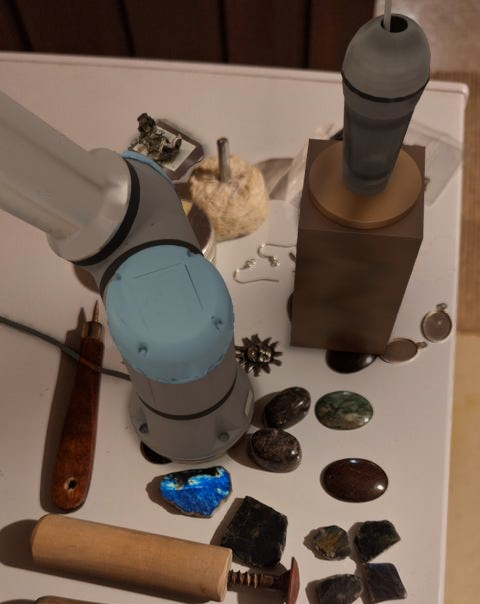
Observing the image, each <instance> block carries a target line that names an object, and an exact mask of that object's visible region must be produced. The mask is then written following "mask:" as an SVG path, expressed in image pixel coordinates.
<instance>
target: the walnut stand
mask: <svg viewBox="0 0 480 604" xmlns="http://www.w3.org/2000/svg"><path fill="white" fill-rule="evenodd" d="M341 141H342V140H338V139H337V140H336V139H335V140H334V139H321V138H308V142H307V143H308V144H307V150H306V151H307V152H306V159H305V165H304V166H305V167H304V175H303V182H302V183H303V184H302V191H301V196H302V199H301V207H300V215H299V214H298V222H297V223H298V225H297V237H296V247H295V248H296V250H295V252H296V253H295V264H294V265H295V266H294V278H293V291H292V307H291V322H290V323H291V324H290V336H289V337H290V338H289V347H292V348H293V347H294V348H296V347H297V348H304V349H315V350H326V351H336V352H344V353H345V352H347V353H356V354H366V355H377V356H385V354H386V350H387V346H388V344H389V341H390V340H391V339H390V338H391V335H392V332H393V330H394V326H395V324H396V321H397V318H398V314H399V312H400V309H401V307H402V303H403V299H404V297H405V294H406V292H407V288H408V285H409V282H410V279H411V275H412V273H413V271H414V268H415V265H416V261H417V260H418V259H417V258H418V255H419V252H420V250H421V247H422V244H423V241H424V231H425V230H424V229H425V227H424V225H425V186H426V185H425V184H426V182H425V181H426V179H425V178H426V146H425V145H411V144H402V146H401V149H402V150H403V151H405V152H406V153H407V154H408V155H409V156H410V157H411V158H412V159H413V160H414V161H415V163H416V165H417V166H418V169H419V171H420V175H421V183H422V184H421V190H420V193H419V197H418V200H417V202H416V204H415V206H414V207H413V209H412V210H411V211H410V212H409V213H408V214H407V215H406V216H405V217H404V218H402V219H401V220H399V221H397V222H396V223H393V224H391V225H388V226H385V227H381V228H375V229H358V228H351V227H347V226H344V225H341V224H338V223H336V222H334V221H332V220H331V219H329V218H327V217H326V216H325V215H324V214H322V213H321V212H320V211H319V210H318V209H317V207H316V206H315V204H314V203H313V201H312V199H311V196H310V193H309V187H308V185H309V173H310V169H311V166H312V164H313V162H314V161H315V159H316V158H317V157H318V155H319V154H320V153H322V152H323V151H324V150H325V149H327V148H328V147H330V146H332V145H333V144H336V143H338V142H341Z"/></svg>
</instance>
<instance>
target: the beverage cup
mask: <svg viewBox="0 0 480 604" xmlns="http://www.w3.org/2000/svg"><path fill="white" fill-rule="evenodd" d="M392 5H393V0H384V8H383V13H382V14H380V15H377V16H375V17H372V18H371V19H370V20H368V21H366V23H365V24H363V25H362V26H361V27H360V28H359V29H358V30H357V32H356V33H355V34H354V36H352V39H351V40H350V42H349V44H348V46H347V48H346V50H345V51H346V52H345V54H344V58H343V60H342V63H341V66H340V67H341V68H340V75H341V85H342V86H341V87H342V94H343V99H344V100H343V125H342V141H343V149H342V173H343V176H342V180H343V184H344V185H345V187H346V188H347V189H348V190H350V191H351V192H352V193H355V194H358V195H363V196H370V195H375V194H377V193H380V192H381V191H382V190H384V189H385V187H386V186H387V184H388V180H389V178H390V175H391V174H392V172H393V169H394V166H395V163H396V161H397V158H398V155H399V152H400V149H401V146H402V145H404V144H403V143H404V140H405V137H406V134H407V132H408V129H409V126H410V124H411V121H412V118H413V115H414V112H415V110H416V106H417V105H418V103H419V101H420V99H421V98H422V96H423V94H424V91H425V89H426V87H427V86H428V84H429V83H430V80H431V62H432V61H431V60H432V52H431V46H430V44H429V40H428V38H427V35H426V33H425V31H424V29H423V27H421V26H420V25H419V24H418V23H417V21H415V20H414V19H413V18H411V17H409V16H408V15H406V14H405V15H404V14H401V13H397V12H396V13H395V12H394V13H393V12H392Z"/></svg>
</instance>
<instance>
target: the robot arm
mask: <svg viewBox="0 0 480 604" xmlns="http://www.w3.org/2000/svg"><path fill="white" fill-rule="evenodd" d="M0 210H2V211H3V212H5V213H7V214H9V215H11V216H13V217H14V218H17V219H18V220H21V221H22V222H24V223H26V224H28V225H30V226H32V227H34V228H36V229H38V230H39V231H42V232H43V233H45V238H46V241H47V243H48V246H49V248H50V249H51V251H52V252H53V253H54V254H55V255H56V256H57V257H59V258H61V259H63V260H65V261H66V262H69V263H71V264H72V265H75V266H77V267H79V268H81V269H82V270H84V271H86V272H89V273H90V275H91V276H92V277H93V278H94V280H95V284H96V287H97V289H98V292H99V296H100V299H101V301H102V304H103V307H104V310H105V314H106V324H107V329H108V332H109V335H110V338H111V340H112V342H113V345H114V347H115V349H116V350H117V351H118V352H119V354H120V357H121V359H122V361H123V364H124V366H125V369H126V372H127V373H125V372H121V371H118V370H113V369H111V368H110V369H109V368H105V367H102V366H100V367H101V368H100V372H99V373H100V374H103V375H107V376H111V377H115V378H118V379H121V380H124V381H128V382H131V384H132V385H131V389H130V392H129V399H128V410H129V417H130V421H131V424H132V426H133V429H134V430H135V433H136V435H137V436H138V438H139V439H140V441H141V442H142V443H143V445H144V446H145V447H146V448H147V449H148V450H149V451H151V452H152V453H153V454H155V455H157V456H158V457H160V458H161V459H164V460H166V461H168V462H173V463H176V464H184V465H196V464H197V465H198V464H203V463H209V462H211V461H215V460H217V459H219V458H221V457H223V456H225V455H226V454H228V453H230V452H231V451H232V450H233V449H235V448H236V447H237V446H238V445H239V444H240V443H241V442H242V440H243V439H244V438H245V437H246V435H247V433H248V431H249V430H250V428H251V425H252V423H253V419H254V415H255V392H254V388H253V384H252V381H251V379H250V376H249V375H248V373H247V371H246V370H245V368H244V367H243V366H242V364H241V363H240V362H239V361H238V360H237V355H236V342H235V321H236V316H235V312H234V304H233V300H232V296H231V293H230V290H229V288H228V286H227V284H226V281H225V280H224V277H223V275H222V274H221V272H220V271H219V270H218V268H217V266H215V265H214V263H212V262H211V261H210V260H209V259H207V258H206V257H205V255H204V252H203V249H202V248H201V245H200V242H199V241H198V239H197V236H196V234H195V232H194V229H193V227H192V225H191V223H190V221H189V218H188V216H187V214H186V211H185V209H184V206H183V202H182V199H181V196H180V193H179V191H178V190H177V188H176V185H175V184H174V183H173V182H172V180H170V179H169V178H168V176H167V175H166V173H165V172H164V171H163V169H162V168H161V167H160V166H159V165H158V164H157V163H155V162H154V161H153V160H151V159H150V158H148V157H146V156H144V155H142V154H139V153H136V152H132V151H128V150H124V151H123V152H121V153H118V152H117V151H116V150H112V149H110V148H107V147H96V148H92V149H89V150H87V149H85V148H83V147H82V146H80V145H79V144H78V143H76V142H75V141H74V140H72V139H71V138H70V137H68V136H67V135H65V134H63V133H62V132H61V131H59V130H58V129H56V128H55V127H53V126H52V125H50V124H49V123H48V122H47V121H45V120H44V119H42V118H41V117H39V116H38V115H36V114H35V113H34V112H32V111H31V110H30V109H28V108H27V107H25V106H24V105H22V104H21V103H20V102H18V101H17V100H15V99H14V98H12V97H11V96H10V95H8V94H6V93H5V92H4V91H2V90H1V89H0ZM0 323H1V324H4V325H7V326H9V327H11V328H14V329H16V330H20V331H22V332H25V333H27V334H29V335H32V336H34V337H37V338H39V339H41V340H43V341H45V342H48V343H49V344H51V345H52V346H55V347H57V349H60V350H62V351H63V352H65V353H66V354H67V355H69V356H70V357H72V359H75V360H76V361H77V362H79V356H81V355H80V354H79V353H77V352H76V351H74V350H73V349H71V348H70V347H69V346H67V345H66V344H64V343H62V342H61V341H59V340H57V339H55V338H54V337H52V336H49V335H47V334H46V333H43V332H41V331H39V330H36V329H34V328H33V327H32V328H31V327H29V326H27V325H24V324H22V323H19V322H17V321H14V320H11V319H9V318H6V317H3V316H1V315H0Z"/></svg>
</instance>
